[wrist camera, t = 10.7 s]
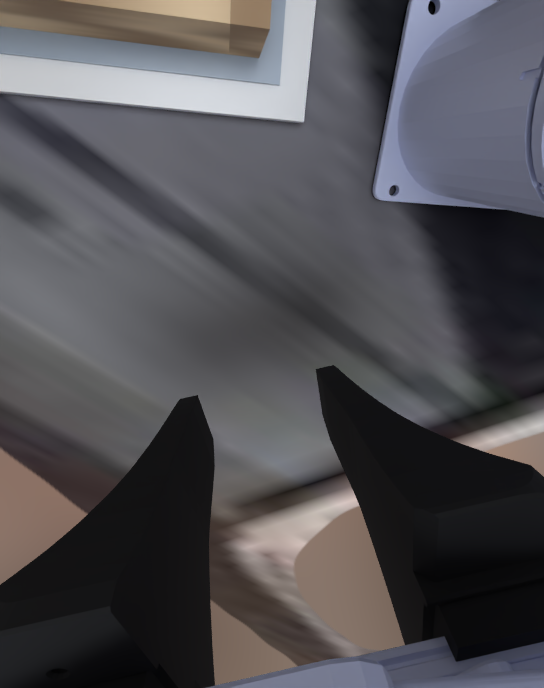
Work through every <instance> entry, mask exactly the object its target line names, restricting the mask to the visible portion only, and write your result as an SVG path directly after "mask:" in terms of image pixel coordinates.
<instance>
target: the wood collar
mask: <svg viewBox="0 0 544 688" xmlns="http://www.w3.org/2000/svg"><path fill="white" fill-rule="evenodd" d="M271 3H272V0H0V26H3V27H11V28H19V29H27V30H35V31H43V32H51V33H59V34H67V35H75V36H84V37H92V38H100V39H108V40H116V41H124V42H132V43H140V44H148V45H156V46H164V47H172V48H180V49H188V50H196V51H204V52H213V53H221V54H229V55H237V56H245V57H253V58H259V57H260V54H261V52H262V49H263V46H264V44H265V41H266V38H267V36H268V33H269V30H270V20H271Z"/></svg>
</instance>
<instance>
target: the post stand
mask: <svg viewBox="0 0 544 688" xmlns="http://www.w3.org/2000/svg"><path fill="white" fill-rule="evenodd" d="M315 7H316V0H272V3H271V20H270V30H269V33H268V36H267V38H266V41H265V44H264V46H263V49H262V52H261V54H260V57H259V58H253V57H245V56H237V55H229V54H221V53H213V52H204V51H196V50H188V49H180V48H172V47H164V46H156V45H148V44H140V43H132V42H124V41H116V40H108V39H100V38H92V37H84V36H75V35H67V34H59V33H51V32H43V31H35V30H27V29H19V28H11V27H3V26H0V93H3V94H13V95H23V96H33V97H43V98H53V99H63V100H73V101H83V102H92V103H102V104H112V105H122V106H132V107H142V108H152V109H162V110H172V111H182V112H192V113H202V114H212V115H222V116H232V117H242V118H251V119H261V120H271V121H281V122H291V123H302V122H304V115H305V105H306V95H307V86H308V76H309V66H310V56H311V46H312V36H313V26H314V17H315Z"/></svg>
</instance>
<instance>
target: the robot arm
mask: <svg viewBox="0 0 544 688" xmlns="http://www.w3.org/2000/svg"><path fill="white" fill-rule="evenodd" d="M430 1H432V2H433V3H434V4H435V6H436V7H435V13H434V15H431V14H430V13H429V11H428V5H429V2H430ZM393 185H395V187H396V191H395V193H394V194H393V195H390V194H389V189H390V187H391V186H393ZM373 195H374V197H375V198H376V199H379V200H382V201H395V202H409V203H422V204H436V205H450V206H463V207H477V208H491V209H504V210H511V211H516V212H520V213H525V214H530V215H534V216H539V217H544V0H500V1H499V0H409V3H408V6H407V11H406V17H405V22H404V27H403V32H402V38H401V43H400V48H399V53H398V58H397V64H396V69H395V74H394V79H393V85H392V90H391V95H390V100H389V105H388V111H387V116H386V121H385V126H384V132H383V137H382V142H381V147H380V152H379V158H378V163H377V168H376V173H375V179H374V184H373ZM316 373H317V380H318V387H319V393H320V400H321V407H322V414H323V418H324V421H325V424H326V427H327V430H328V434H329V437H330V440H331V442H332V444H333V447H334V449H335V451H336V453H337V456H338V458H339V460H340V462H341V465H342V467H343V469H344V471H345V473H346V476H347V478H348V480H349V482H350V484H351V487H352V489H353V491H354V493H355V495H356V498H357V500H358V503H359V505H360V508H361V511H362V513H363V516H364V519H365V522H366V525H367V528H368V531H369V534H370V537H371V540H372V543H373V546H374V549H375V552H376V555H377V558H378V561H379V564H380V567H381V570H382V573H383V576H384V579H385V582H386V586H387V588H388V592H389V595H390V598H391V601H392V604H393V607H394V611H395V614H396V617H397V620H398V623H399V627H400V630H401V633H402V637H403V639H404V643H405V645H404V646H400V647H395V648H391V649H387V650H382V651H378V652H374V653H369V654H365V655H361V656H356V657H346V658H337V659H328V660H324V661H320V662H315V663H311V664H307V665H302V666H298V667H294V668H289V669H285V670H281V671H276V672H272V673H268V674H263V675H259V676H255V677H250V678H246V679H242V680H237V681H233V682H229V683H224V684H220V685H216V686H215V681H214V665H213V651H212V630H211V609H210V577H209V529H210V517H211V505H212V493H213V481H214V467H215V465H214V443H213V437H212V434H211V432H210V429H209V426H208V423H207V420H206V418H205V415H204V412H203V409H202V406H201V404H200V401H199V398H198V395H196V396H192V397H187V398H183V399H180V400H179V401H178V403H177V404H176V406H175V407H174V409H173V410H172V412H171V413H170V415H169V416H168V418H167V420H166V421H165V423H164V424H163V426H162V427H161V429H160V430H159V432H158V433H157V435H156V436H155V438H154V439H153V440H152V442H151V443H150V445H149V446H148V448H147V449H146V450H145V451H144V453H143V454H142V455H141V457H140V458H139V459H138V461H137V462H136V463H135V465H134V466H133V467H132V468H131V470H130V471H129V472H128V473H127V474H126V475H125V477H124V478H123V479H122V480H121V481H120V482H119V483H118V484H117V486H116V487H115V488H114V489H113V490H112V491H111V492H110V493H109V494H108V495H107V496H106V497H105V498H104V499H103V500H102V501H101V502H100V503H99V504H98V505H97V506H96V507H95V508H94V509H93V510H92V511H91V512H90V513H89V514H88V515H87V516H86V517H85V518H84V519H82V520H81V521H80V522H79V523H78V524H77V525H76V526H75V527H73V528H72V529H71V530H70V531H69V532H68V533H67V534H66V535H64V536H63V537H62V538H61V539H59V540H58V541H57V542H56V543H55V544H54V545H52V546H51V547H50V548H49V549H47V550H46V551H45V552H44V553H42V554H41V555H40V556H38V557H37V558H36V559H35V560H33V561H32V562H30V563H29V564H28V565H27V566H25V567H24V568H22V569H21V570H20V571H18V572H17V573H16V574H14V575H13V576H12V577H10V578H9V579H8V580H6V581H5V582H4V583H2V584H1V585H0V688H544V477H543V476H542V475H541V474H540V473H539V472H538V471H536V470H535V469H534V468H533V467H532V466H531V465H528V464H524V463H520V462H517V461H514V460H510V459H506V458H503V457H499V456H496V455H492V454H489V453H486V452H483V451H480V450H477V449H474V448H472V447H469V446H466V445H463V444H461V443H458V442H455V441H453V440H450V439H448V438H446V437H443V436H441V435H439V434H436V433H434V432H432V431H430V430H428V429H425V428H423V427H421V426H419V425H417V424H415V423H414V422H412V421H410V420H408V419H406V418H404V417H402V416H401V415H399V414H397V413H396V412H394V411H393V410H391V409H389V408H388V407H386V406H385V405H383V404H382V403H380V402H379V401H378V400H376V399H375V398H373V397H372V396H371V395H369V394H368V393H367V392H365V391H364V390H363V389H361V388H360V387H359V386H358V385H356V384H355V383H354V382H353V381H352V380H350V379H349V378H348V377H347V376H346V375H345V374H343V373H342V372H341V371H340V370H339V369H338V368H337V367H335V366H334V365H333V366H328V367H323V368H319V369H316Z"/></svg>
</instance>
